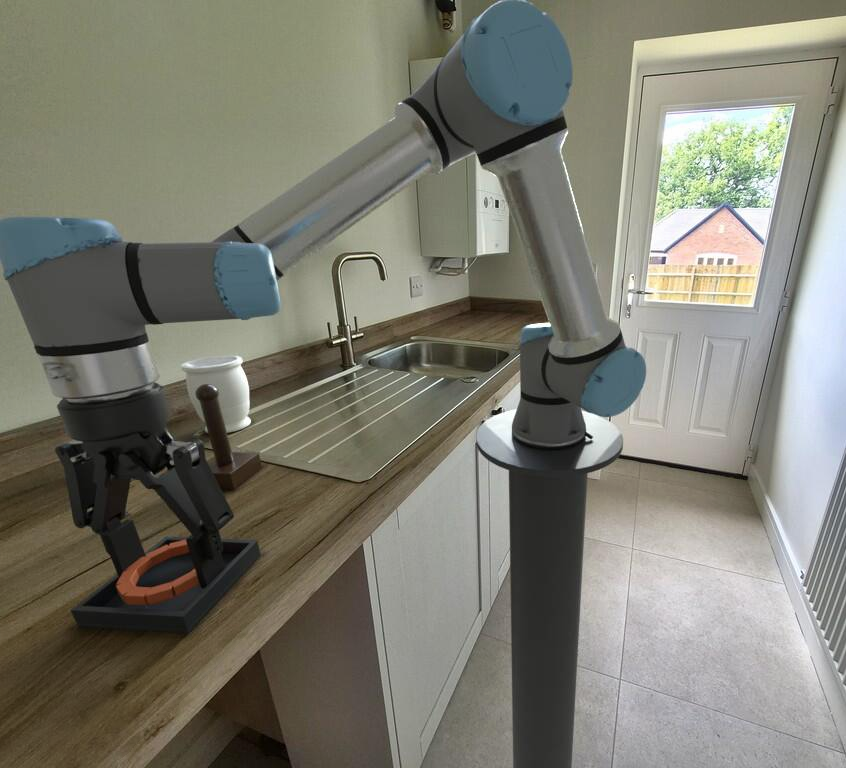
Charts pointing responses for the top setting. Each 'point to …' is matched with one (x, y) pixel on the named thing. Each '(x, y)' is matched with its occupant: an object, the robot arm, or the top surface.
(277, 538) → the top surface
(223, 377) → the jar
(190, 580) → the ring
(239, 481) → the ring stand
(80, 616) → the tray
